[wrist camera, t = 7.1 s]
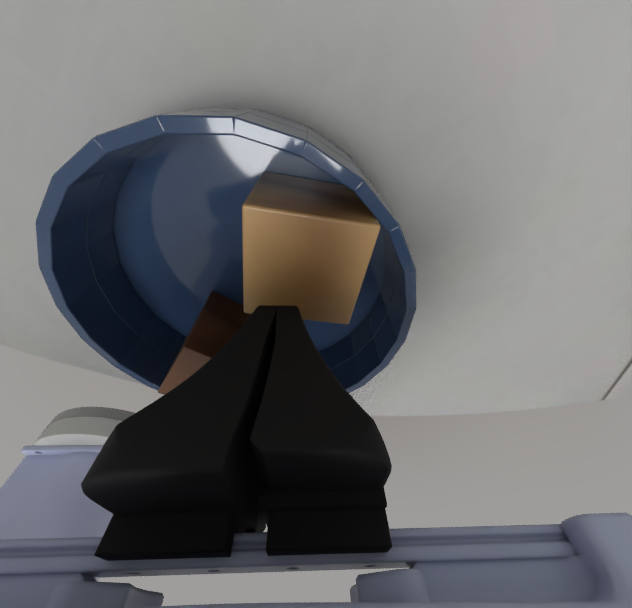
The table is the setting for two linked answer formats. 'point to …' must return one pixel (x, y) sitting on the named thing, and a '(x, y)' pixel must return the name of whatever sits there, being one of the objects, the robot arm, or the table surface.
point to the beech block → (305, 246)
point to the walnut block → (205, 338)
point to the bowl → (200, 238)
